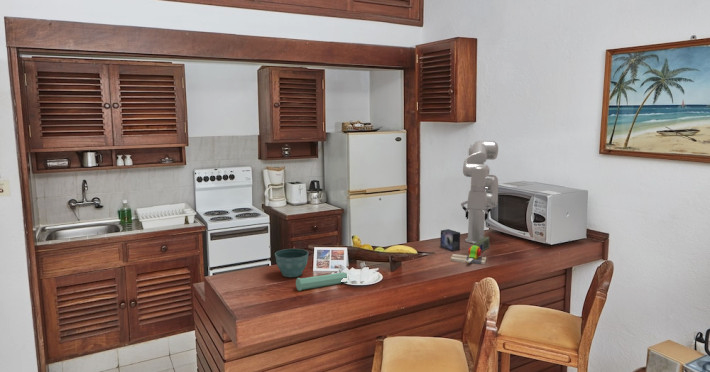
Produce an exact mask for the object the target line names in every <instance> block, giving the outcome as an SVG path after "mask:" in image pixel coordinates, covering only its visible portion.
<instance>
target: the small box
mask: <svg viewBox="0 0 710 372" xmlns="http://www.w3.org/2000/svg"><path fill="white" fill-rule="evenodd" d="M439 241H440V245H439V247H440V248H442V249H444V250H448V251H450V252H456V251H460V250H461V249H460V247H461V244H460V243H461V232H459V231H456V230H452V229H449V228H448V229H447V228H446V229H443V230H440V240H439Z"/></svg>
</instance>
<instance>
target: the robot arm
mask: <svg viewBox="0 0 710 372" xmlns="http://www.w3.org/2000/svg"><path fill="white" fill-rule="evenodd" d="M498 155H499V145H498V143H497V141H495V140H477V141H475V142H474V143H473V145H471V146H469V148H468V156H467V157H466V158H465V159H464V161H463V165H462V173H463V176H464V177H466V178H470V179H471V180H470V190H469V191H468V197H467V200H466V201H465V200H464V201H463V202H461V203H460V206H461V208H462V209H463V211H464V212H465V218H466V220H468V223H467V224H468V225H467V226H468V227H467V237H466V238H465V239H464V241H465V242H466V243H468V244H473V245H474V243H475V242H477V241H479V240H481V239H483V238H484V237H485V222H486V221H487V220H488V216H489V215H488V214H489V213H490V212H491V211H492V209H493V208H496V207H497V205H498V203H499V202H498V201H499V200H498V199H499V179H498V177H497V175H494V174H490V166H488V165H487V164H485V163H486V162H487V160H493V161H494V160H496V159H497V158H498ZM465 205H467V206H465Z"/></svg>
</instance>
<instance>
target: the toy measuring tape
mask: <svg viewBox="0 0 710 372" xmlns="http://www.w3.org/2000/svg"><path fill="white" fill-rule="evenodd" d="M467 251H468V252H467V253H468V256H469V260H468V261H467V260H465V262H464V264H465V263H466V264H470V263H469V262H471V261H472V260H473V259H474V260H476V259H477V258H478V257H482V252H483V251H481V249H480V247H479V246H475V245H474V244H473V245H471V246H470V247H469V248H468V250H467Z"/></svg>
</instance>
